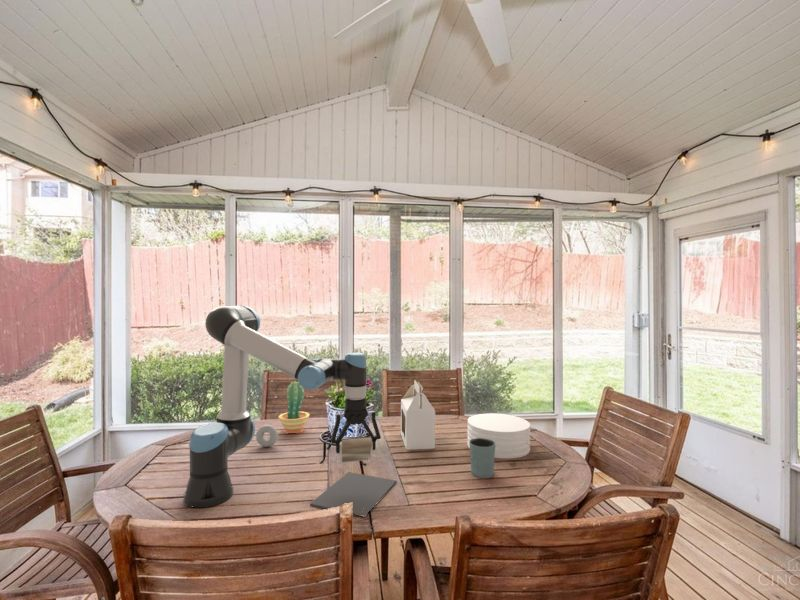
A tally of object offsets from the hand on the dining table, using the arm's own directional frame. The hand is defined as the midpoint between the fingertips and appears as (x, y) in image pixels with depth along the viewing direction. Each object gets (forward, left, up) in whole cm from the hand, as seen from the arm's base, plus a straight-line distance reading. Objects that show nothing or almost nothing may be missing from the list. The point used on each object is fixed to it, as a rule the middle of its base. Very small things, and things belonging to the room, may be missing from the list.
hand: (355, 460), depth 141 cm
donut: (+22, +57, -11) cm, 62 cm away
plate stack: (+63, -41, -11) cm, 76 cm away
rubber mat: (-2, -1, -11) cm, 11 cm away
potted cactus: (+45, +59, -11) cm, 75 cm away
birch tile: (+4, +3, -1) cm, 5 cm away
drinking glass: (+31, -39, -11) cm, 51 cm away
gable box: (+55, -4, -11) cm, 57 cm away
